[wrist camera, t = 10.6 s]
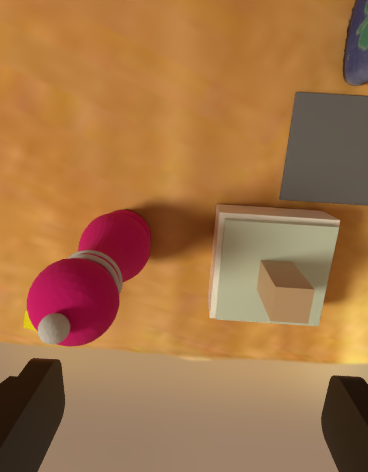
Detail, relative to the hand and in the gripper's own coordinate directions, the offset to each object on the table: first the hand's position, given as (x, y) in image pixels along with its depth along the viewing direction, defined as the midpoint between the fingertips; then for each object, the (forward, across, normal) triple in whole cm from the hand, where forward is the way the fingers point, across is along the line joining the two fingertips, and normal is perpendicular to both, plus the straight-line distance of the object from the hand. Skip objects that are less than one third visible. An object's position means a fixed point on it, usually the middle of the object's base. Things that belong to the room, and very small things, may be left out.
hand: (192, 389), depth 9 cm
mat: (+27, -15, -6) cm, 32 cm away
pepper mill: (+27, +8, +4) cm, 29 cm away
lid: (+22, -8, +6) cm, 25 cm away
